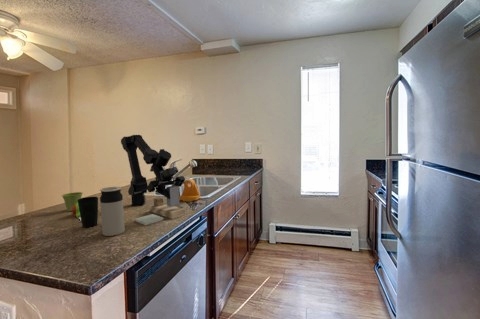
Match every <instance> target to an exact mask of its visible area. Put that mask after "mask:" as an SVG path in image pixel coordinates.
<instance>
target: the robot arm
mask: <svg viewBox="0 0 480 319" xmlns="http://www.w3.org/2000/svg"><path fill="white" fill-rule="evenodd" d="M120 144H121V146H122V148H123V151H125V152H126V154H127V158H128V162H129V167H130V172H131V177H132V178H131V180H130V186H129V188H128V191H127V192H128V195H129V196H130V197H131V205H130V206H131V207H135V206H144V205H145V204H146V201H147V200H146V198H147V197H146V195H145V194H147V193H153V192H155V193H158V194H160V195H162V196H164V197H165V198H166V199H167V198H168V199H170V195H169V193H168V191H167V190H166V187H168V186H179V188H180V187H182V186H183V185H184V183H185V182H186V181H187V180H186V179H187V178H185V176H184V175H181V176H179V175H178V176H176V177H175V179H174V176H175V175H177V174H178V173H179V169H178V167H177V166H173V167H169V168H165V167H166V166H168V164H169V162H170V161H171V158H172V153H171V152H169V151H167V150H165V148H162V149H161V148H160V149H159V151H157V150H155V149H152V148H151V146H150V145H148V143H147V142H146V141H145V139H144V138H143V136H142V135H141V134H132V135H129V136H123V137H122V138H121V139H120ZM138 149H139V151H140V152H141V154H142V155H143V157H142V158H143V161H144V162H145V164H146V165H151V166H150V170H149V172H153V173H154V176H155V179H154V180H150V181H149V184H148V182H147V178H146V176H143V175H142V171H141V166H140V162H139V158H138V153H137V150H138ZM179 196H181V192H180V191H179Z"/></svg>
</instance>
